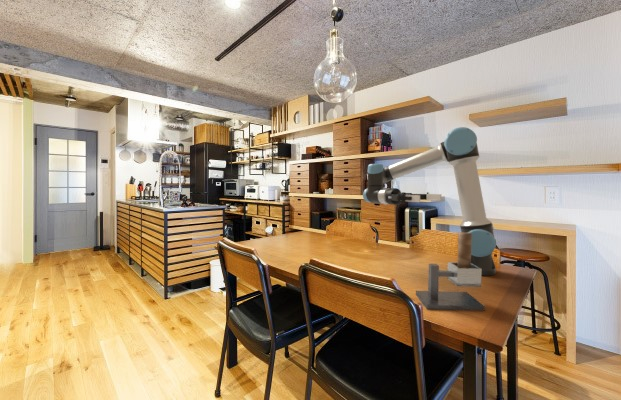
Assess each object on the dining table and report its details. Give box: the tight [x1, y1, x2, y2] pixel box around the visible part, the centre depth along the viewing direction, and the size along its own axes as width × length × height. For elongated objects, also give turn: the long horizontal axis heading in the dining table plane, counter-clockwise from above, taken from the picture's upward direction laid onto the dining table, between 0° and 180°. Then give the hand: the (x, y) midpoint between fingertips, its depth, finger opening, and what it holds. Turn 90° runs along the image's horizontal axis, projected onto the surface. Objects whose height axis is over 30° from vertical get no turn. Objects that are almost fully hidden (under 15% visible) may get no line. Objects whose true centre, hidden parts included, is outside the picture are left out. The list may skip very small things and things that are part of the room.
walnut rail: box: [456, 231, 472, 268], centre depth 96 cm, size 4×4×16 cm
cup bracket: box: [415, 261, 486, 312], centre depth 97 cm, size 18×12×13 cm, turn 86°
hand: (430, 198), depth 114 cm, fingers open, 13 cm apart
